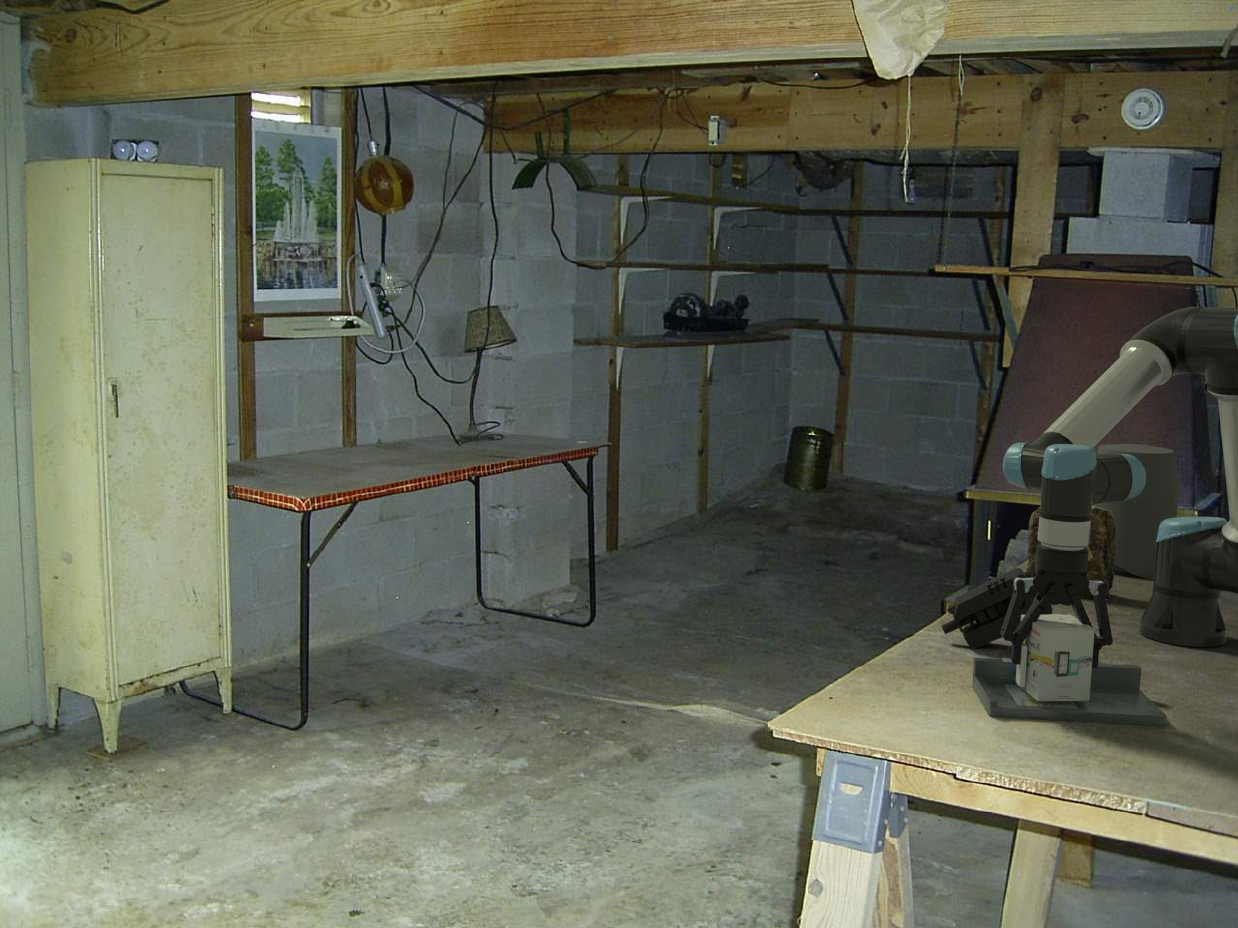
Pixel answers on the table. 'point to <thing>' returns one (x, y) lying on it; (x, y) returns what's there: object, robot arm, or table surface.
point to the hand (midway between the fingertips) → (1052, 685)
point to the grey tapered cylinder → (1143, 508)
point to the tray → (1108, 701)
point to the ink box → (1059, 659)
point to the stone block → (1099, 547)
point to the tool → (988, 609)
